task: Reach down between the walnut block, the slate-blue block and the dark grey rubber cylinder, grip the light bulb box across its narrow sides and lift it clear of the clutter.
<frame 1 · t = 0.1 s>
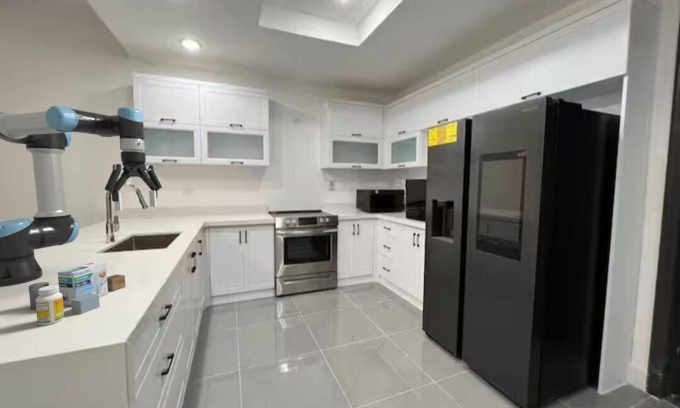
hand: (137, 208, 112), 28 cm above the countertop, tool pointing down, fingers open, 13 cm apart
slate-blue block: (86, 310, 90), on the countertop
walnut block: (115, 288, 107), on the countertop
dark grey rubber cylinder: (41, 306, 92), on the countertop
supplement bottle: (51, 321, 82), on the countertop
light bulb box: (85, 299, 98), on the countertop
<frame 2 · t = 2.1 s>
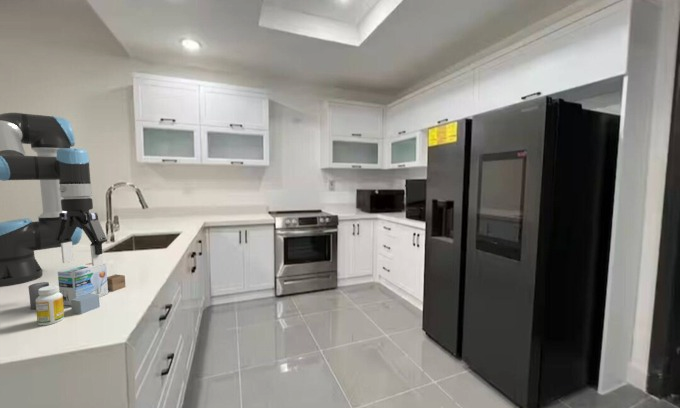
hand: (82, 263, 96), 12 cm above the countertop, tool pointing down, fingers open, 13 cm apart
nothing on the countertop moved.
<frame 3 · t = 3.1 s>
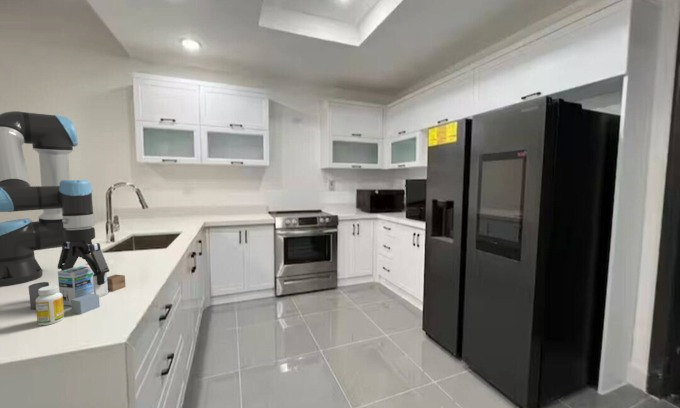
hand: (84, 292, 97), 2 cm above the countertop, tool pointing down, fingers open, 13 cm apart
nothing on the countertop moved.
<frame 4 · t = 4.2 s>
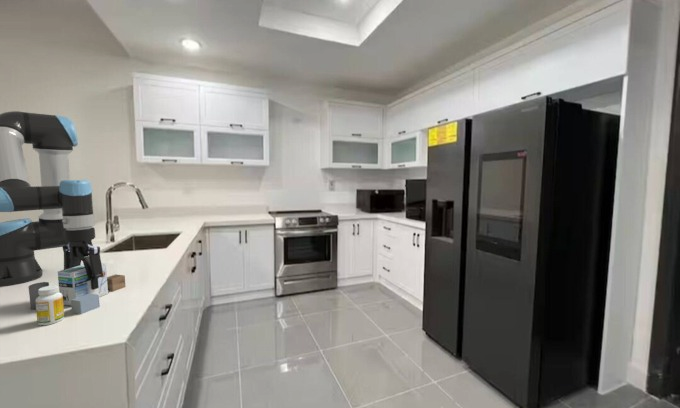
hand: (85, 297, 97), 1 cm above the countertop, tool pointing down, fingers closed on light bulb box, 7 cm apart
light bulb box: (85, 299, 98), on the countertop, touching gripper
everything else where it was.
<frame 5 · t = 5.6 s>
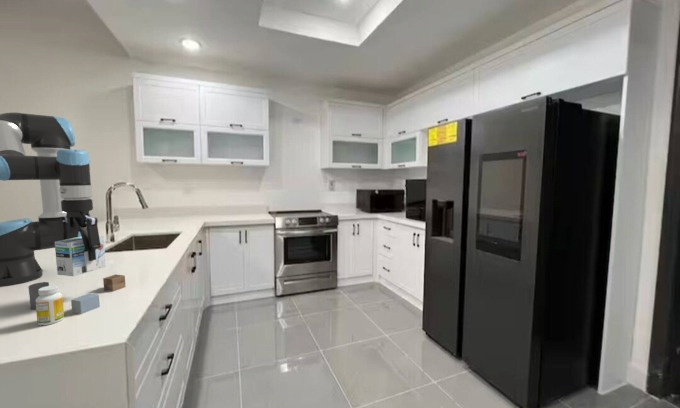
hand: (82, 268, 97), 10 cm above the countertop, tool pointing down, fingers closed on light bulb box, 7 cm apart
light bulb box: (82, 271, 97), point 9 cm above the countertop, touching gripper
everything else where it was.
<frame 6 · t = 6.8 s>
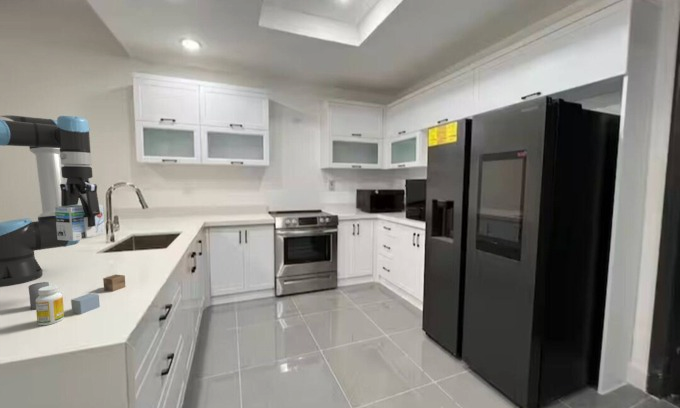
hand: (82, 235, 98), 21 cm above the countertop, tool pointing down, fingers closed on light bulb box, 7 cm apart
light bulb box: (82, 238, 99), point 20 cm above the countertop, touching gripper
everything else where it was.
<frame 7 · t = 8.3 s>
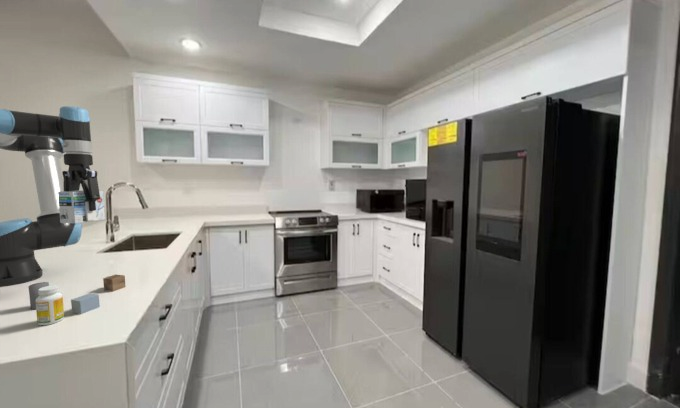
hand: (83, 219, 105), 25 cm above the countertop, tool pointing down, fingers closed on light bulb box, 7 cm apart
light bulb box: (83, 221, 105), point 24 cm above the countertop, touching gripper
everything else where it was.
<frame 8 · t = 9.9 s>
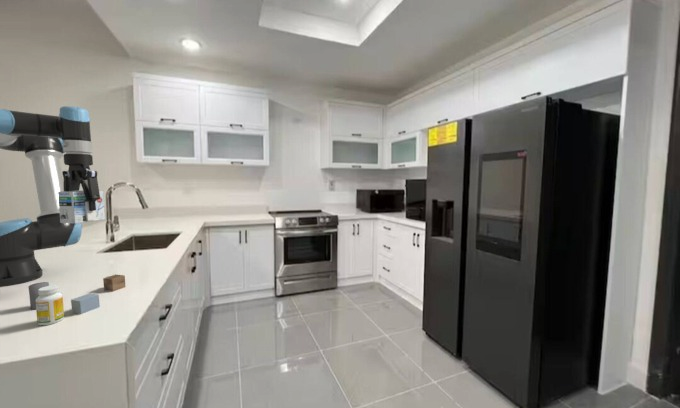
hand: (83, 219, 105), 25 cm above the countertop, tool pointing down, fingers closed on light bulb box, 7 cm apart
light bulb box: (83, 221, 105), point 24 cm above the countertop, touching gripper
everything else where it was.
at the end: the gripper is holding light bulb box; light bulb box point 24.2 cm above the countertop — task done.
